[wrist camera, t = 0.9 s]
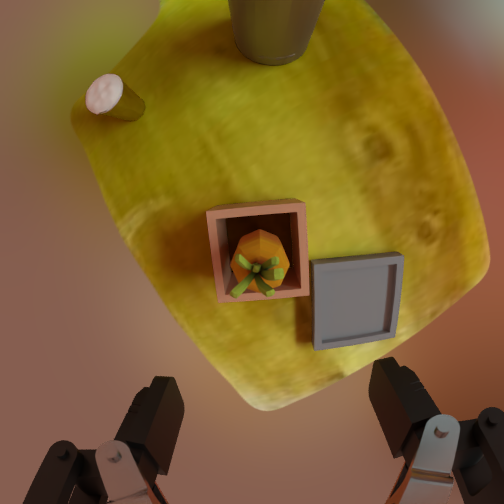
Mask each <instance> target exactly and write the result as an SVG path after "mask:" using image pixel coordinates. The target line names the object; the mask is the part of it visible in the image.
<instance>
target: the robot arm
mask: <svg viewBox="0 0 504 504" xmlns="http://www.w3.org/2000/svg"><path fill="white" fill-rule="evenodd" d="M324 1H325V0H228V4H229V9H230V15H231V20H232V26H233V32H234V37H235V42H236V45H237V47H238V49H239V50H240V52H241V53H242V54H243V55H245V56H246V57H247V58H249V59H251V60H252V61H255V62H258V63H261V64H266V65H282V64H286V63H290V62H292V61H294V60H296V59H298V58H299V57H300V56H301V55H302V54H303V53H304V52H305V50H306V48H307V45H308V43H309V40H310V38H311V35H312V33H313V30H314V27H315V25H316V22H317V20H318V17H319V14H320V12H321V9H322V6H323V4H324ZM369 398H370V401H371V403H372V406H373V408H374V411H375V413H376V415H377V418H378V420H379V422H380V425H381V427H382V430H383V432H384V435H385V437H386V440H387V442H388V445H389V447H390V450H391V453H392V455H393V458H398V457H400V456H403V457H404V459H405V462H404V464H403V466H402V468H401V471H400V473H399V475H398V478H397V480H396V482H395V484H394V486H393V489H392V491H391V493H390V495H389V497H388V499H387V500H386V503H385V504H447V502H448V499H449V496H450V493H451V490H452V486H453V482H454V479H453V477H450V473H451V470H452V472H453V474H454V477H455V479H456V482H457V484H458V487H459V490H460V493H461V495H462V498H463V501H464V504H504V412H503V411H501V410H500V409H498V408H495V407H489V408H486V409H484V410H483V411H482V412H481V413H480V414H479V416H478V418H477V419H472V420H466V421H457V420H456V419H455V418H454V417H452V416H449V415H444V414H443V415H442V414H441V413H440V411H439V409H438V408H437V406H436V405H435V403H434V401H433V400H432V398H431V397H430V395H429V394H428V392H427V391H426V389H424V386H423V385H422V383H421V382H420V380H419V378H418V377H417V375H416V374H415V372H413V371H412V370H410V369H409V368H408V367H406V366H402V367H400V366H399V365H398V363H397V362H396V360H395V359H394V358H393V357H388V358H384V359H379V360H375V361H374V364H373V369H372V374H371V379H370V384H369ZM183 416H184V402H183V400H182V397H181V394H180V391H179V389H178V386H177V383H176V380H175V379H174V377H164V376H155V377H154V379H153V381H152V383H151V385H150V387H144V388H143V389H142V390H141V391H140V392H138V393H137V394H136V396H135V398H134V400H133V402H132V405H131V406H130V408H129V410H128V413H127V414H126V416H125V418H124V420H123V422H122V424H121V426H120V428H119V430H118V432H117V434H116V437H115V439H114V440H112V441H107V442H105V443H103V444H102V445H100V446H99V447H98V449H96V450H78V449H77V448H76V446H75V445H74V444H73V443H71V442H69V441H64V440H62V441H58V442H56V443H54V444H53V445H52V446H51V447H50V449H49V451H48V453H47V455H46V456H45V458H44V460H43V462H42V464H41V466H40V468H39V470H38V472H37V474H36V476H35V478H34V480H33V482H32V484H31V486H30V489H29V491H28V493H27V495H26V497H25V500H24V502H23V504H68V501H69V499H70V501H69V504H169V503H168V501H167V500H166V498H165V496H164V495H163V493H162V491H161V490H160V488H159V486H158V484H157V483H156V481H155V480H156V477H157V474H160V475H167V473H168V470H169V466H170V463H171V459H172V455H173V452H174V448H175V444H176V441H177V437H178V434H179V430H180V427H181V423H182V420H183ZM74 486H75V488H74ZM73 488H74V490H73ZM72 491H73V493H72ZM71 493H72V496H71ZM70 496H71V498H70ZM108 497H109V502H107V500H108Z"/></svg>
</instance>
